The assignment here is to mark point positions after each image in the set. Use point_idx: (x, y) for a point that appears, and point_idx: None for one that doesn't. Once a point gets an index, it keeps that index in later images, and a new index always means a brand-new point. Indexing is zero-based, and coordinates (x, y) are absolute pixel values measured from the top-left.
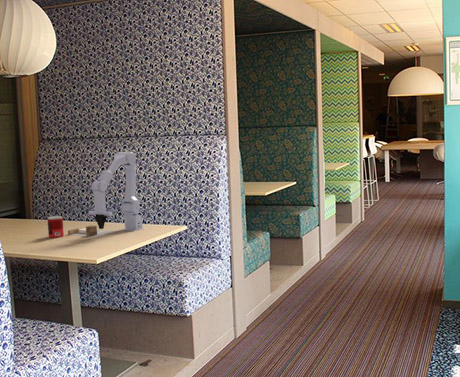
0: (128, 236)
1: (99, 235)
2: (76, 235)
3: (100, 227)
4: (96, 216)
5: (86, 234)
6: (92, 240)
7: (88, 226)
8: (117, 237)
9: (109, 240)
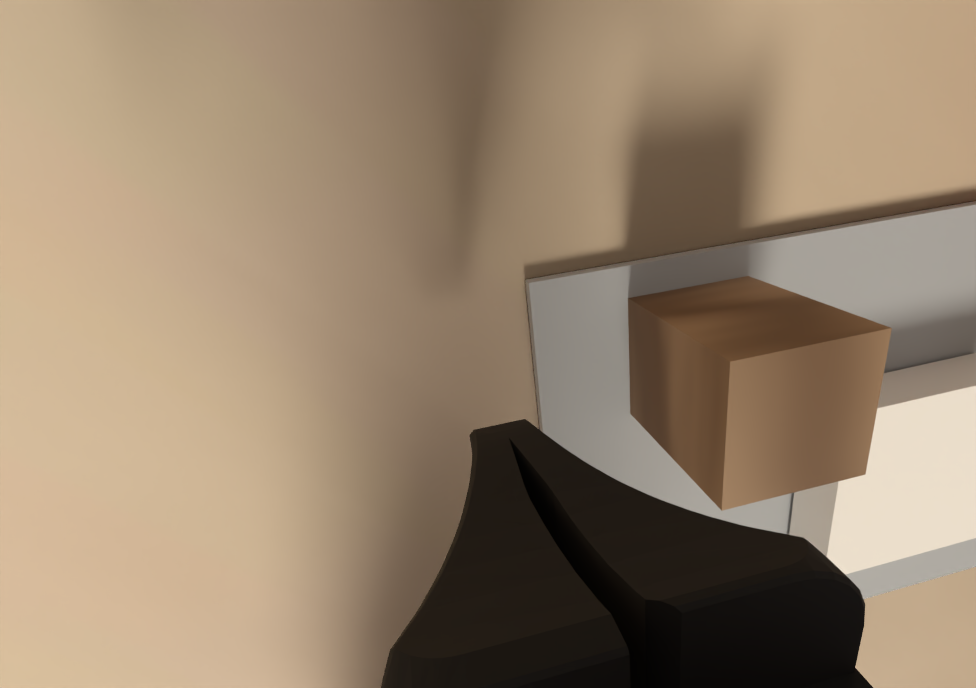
0: (88, 628)
1: (560, 405)
2: (925, 216)
3: (484, 441)
4: (749, 650)
5: (762, 282)
6: (353, 44)
7: (847, 374)
8: (176, 491)
9: (3, 225)
